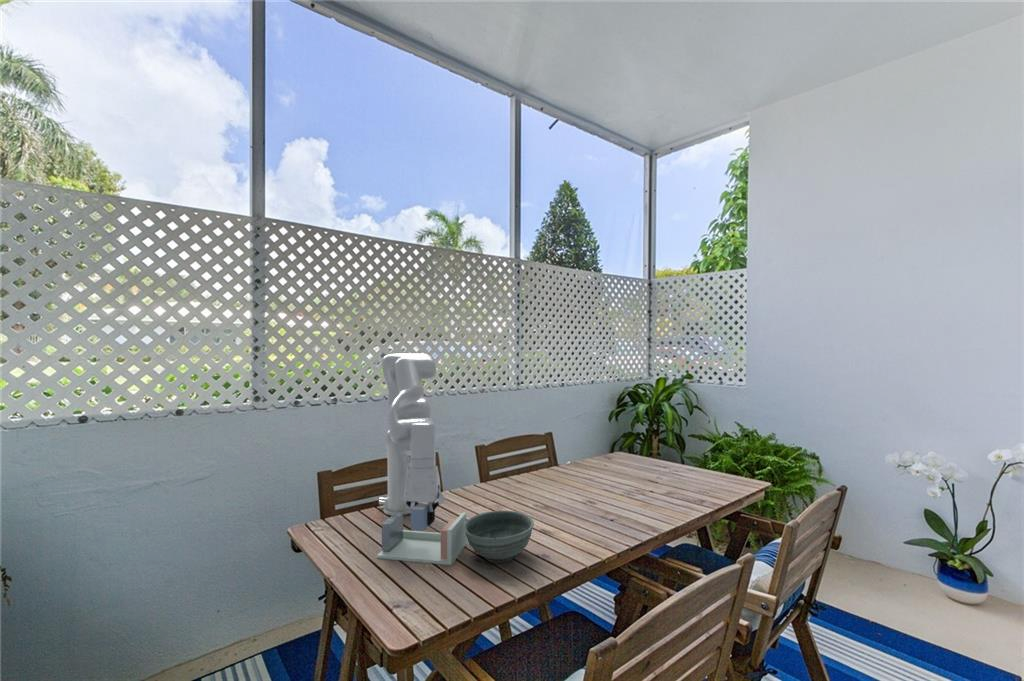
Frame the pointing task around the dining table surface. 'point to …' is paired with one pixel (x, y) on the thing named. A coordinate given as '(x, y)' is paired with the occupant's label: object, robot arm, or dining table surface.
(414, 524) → the book
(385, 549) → the bookend
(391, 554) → the mint u-shaped tray
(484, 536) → the bowl
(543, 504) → the dining table surface
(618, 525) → the dining table surface
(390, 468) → the robot arm
